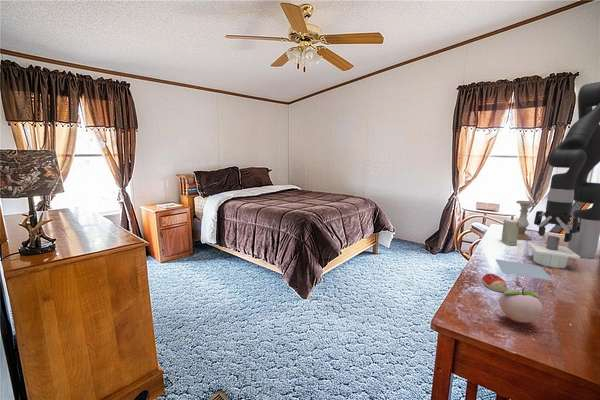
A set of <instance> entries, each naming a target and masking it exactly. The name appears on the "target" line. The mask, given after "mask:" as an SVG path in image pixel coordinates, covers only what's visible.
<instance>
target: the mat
mask: <svg viewBox="0 0 600 400" xmlns="http://www.w3.org/2000/svg"><path fill="white" fill-rule="evenodd" d="M494 260H495V261H496V263H497V265H498V267H499V269H500V271H501V272H502V273H504V274H509V275H515V276H521V277H528V278H533V279H538V280H546V281H552V282H554V279H553V278H552V277H551V276H550V275H549V274H548V273H547V272H546V271H545V270H544V269H543V267H542V265H540V264H539V265H538V264H530V263H525V262H516V261H511V260H503V259H499V258H498V259H497V258H495V259H494Z"/></svg>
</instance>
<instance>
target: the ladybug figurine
mask: <svg viewBox="0 0 600 400" xmlns="http://www.w3.org/2000/svg"><path fill="white" fill-rule="evenodd" d="M481 282H482V284H483V286H485V287H487V288H488V289H490V290H492V291H494V292H497V293H504V292H505V291H507V290H508V286H507V282H506V281H505V280H504V279H503V278H501V277H500V276H499V275H497V274H494V273H491V272H490V273H486V274H485V275H483V276H482V278H481Z"/></svg>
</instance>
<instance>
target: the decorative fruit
mask: <svg viewBox="0 0 600 400" xmlns="http://www.w3.org/2000/svg"><path fill="white" fill-rule="evenodd" d="M539 299H540V300H542V297H541V296H540V295H538V294H537V293H536V292H532V291H527V290H526V291H525V288H524V287H522V289H521V290H514V289H507V291H505V292H502V293H501V295H500V297H499V298H498V302H499V303H498V304H499V308H500V309H501V310H502V313H504V315H505V316H506V317H508V318H509V319H510V320H512V321H513V322H515V323H534V322H537V321H538V320H540V318H541V317H542V315H543V313H544V307H543V304H542V303H541V301H540V300H539Z"/></svg>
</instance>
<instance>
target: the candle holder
mask: <svg viewBox="0 0 600 400" xmlns="http://www.w3.org/2000/svg"><path fill="white" fill-rule="evenodd" d="M515 203H516V204H519V207H520V210H519V212H520V214H519V217H518V219H517V220H516V221H517V222H520V223H519V231H518V238H517V240H519V241H531V239H532V237H531V236H530V235H529V234H527V233H526V231H528V227H529V225H530V224H529V221H528V217H527V216H528V213H529V208H530V207H531V205H532V206H533V205H535V202H534V201H528V200H516V202H515Z"/></svg>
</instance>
